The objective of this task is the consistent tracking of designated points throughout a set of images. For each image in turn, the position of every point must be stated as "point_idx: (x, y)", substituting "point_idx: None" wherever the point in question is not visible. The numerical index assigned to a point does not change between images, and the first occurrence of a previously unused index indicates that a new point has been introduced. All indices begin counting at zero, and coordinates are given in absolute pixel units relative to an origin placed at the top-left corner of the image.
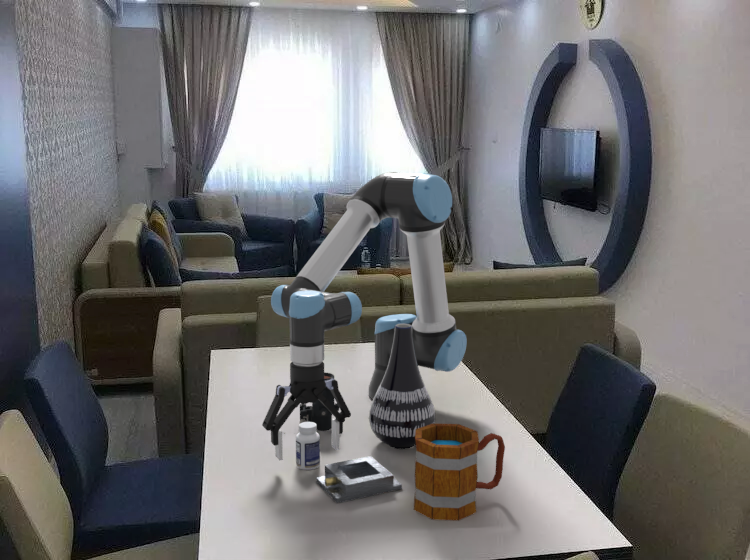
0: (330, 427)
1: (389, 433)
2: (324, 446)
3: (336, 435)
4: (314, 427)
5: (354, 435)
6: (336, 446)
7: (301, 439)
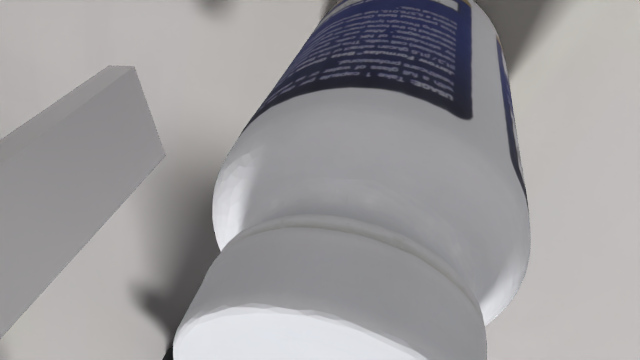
0: (167, 356)
1: None
2: None
3: (30, 140)
4: (224, 293)
5: (76, 269)
6: (112, 80)
7: (505, 196)
